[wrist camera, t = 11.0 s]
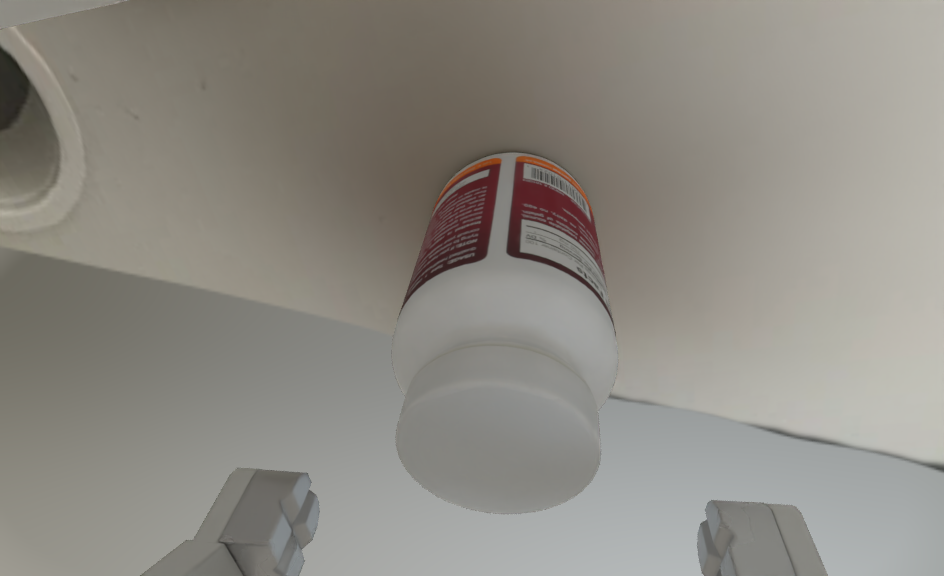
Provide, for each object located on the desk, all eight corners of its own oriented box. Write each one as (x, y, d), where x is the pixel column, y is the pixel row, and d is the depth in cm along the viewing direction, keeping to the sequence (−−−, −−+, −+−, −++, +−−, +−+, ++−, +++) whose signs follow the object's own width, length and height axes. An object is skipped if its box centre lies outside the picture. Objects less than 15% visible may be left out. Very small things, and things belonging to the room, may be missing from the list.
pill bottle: (448, 290, 23) (390, 530, 14) (421, 154, 20) (322, 359, 11) (594, 283, 22) (631, 537, 13) (594, 138, 19) (642, 350, 10)
